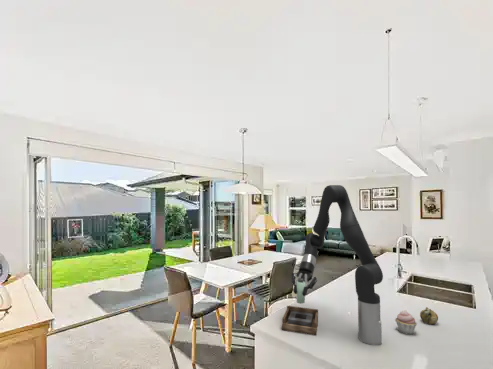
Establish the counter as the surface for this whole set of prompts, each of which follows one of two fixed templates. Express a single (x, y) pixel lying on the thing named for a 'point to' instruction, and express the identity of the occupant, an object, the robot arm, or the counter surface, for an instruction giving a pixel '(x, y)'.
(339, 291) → the counter surface
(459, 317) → the counter surface
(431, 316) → the olive green pumpkin
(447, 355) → the counter surface
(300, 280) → the mint green cylinder
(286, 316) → the box
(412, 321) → the cupcake
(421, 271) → the counter surface
